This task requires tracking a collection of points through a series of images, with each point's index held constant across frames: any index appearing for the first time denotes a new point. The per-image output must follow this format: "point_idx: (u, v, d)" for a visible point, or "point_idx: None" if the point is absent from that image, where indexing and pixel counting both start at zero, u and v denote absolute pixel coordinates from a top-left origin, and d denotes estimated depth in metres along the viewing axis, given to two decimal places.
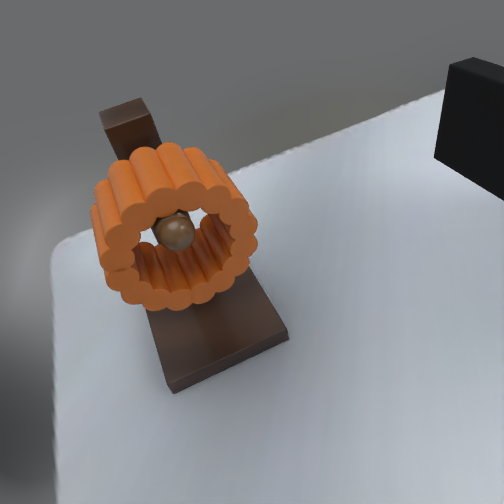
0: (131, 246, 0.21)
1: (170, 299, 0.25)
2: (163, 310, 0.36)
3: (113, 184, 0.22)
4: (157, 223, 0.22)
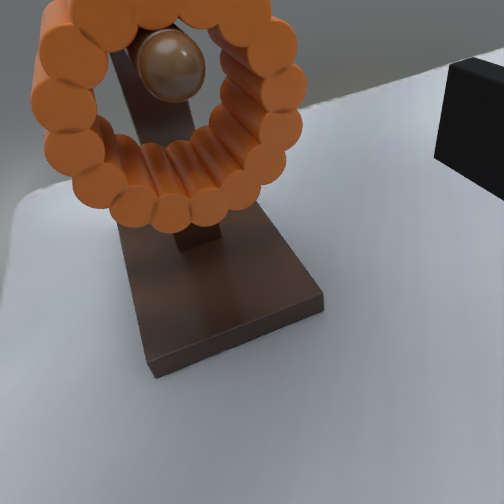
0: (90, 82, 0.12)
1: (156, 209, 0.15)
2: (150, 267, 0.26)
3: None
4: (139, 45, 0.12)
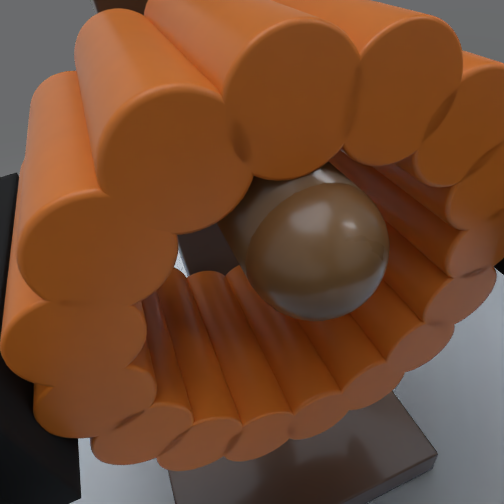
0: (137, 293, 0.05)
1: (237, 439, 0.09)
2: None
3: (84, 60, 0.06)
4: (244, 205, 0.05)
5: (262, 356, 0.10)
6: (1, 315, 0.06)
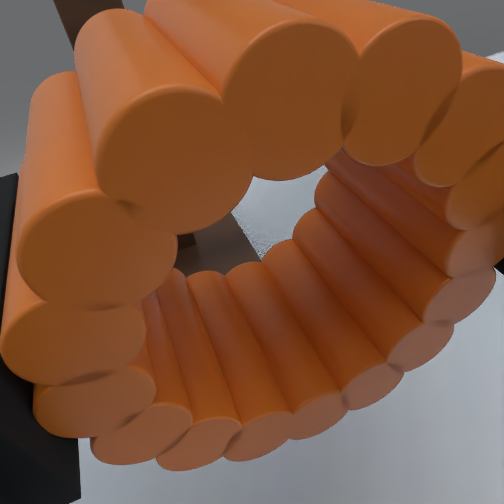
0: (136, 293, 0.05)
1: (237, 439, 0.09)
2: None
3: (84, 60, 0.06)
4: None
5: (262, 356, 0.10)
6: (1, 315, 0.06)
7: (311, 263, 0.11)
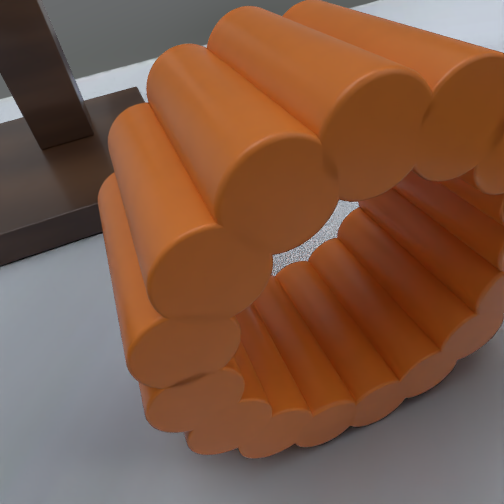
0: (284, 244, 0.06)
1: (260, 430, 0.09)
2: (3, 164, 0.22)
3: (255, 37, 0.07)
4: None
5: (282, 358, 0.10)
6: None
7: (327, 285, 0.12)
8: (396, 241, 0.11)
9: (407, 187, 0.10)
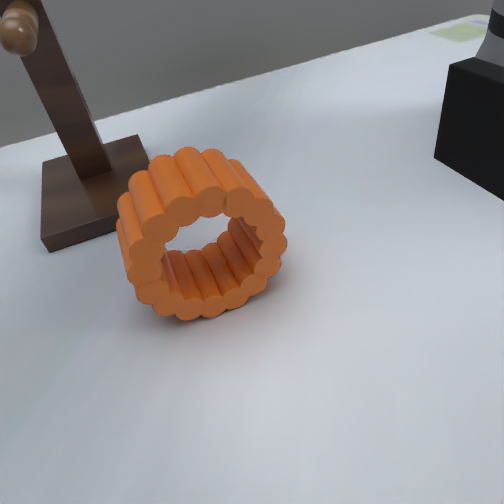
0: (165, 240, 0.21)
1: (182, 306, 0.24)
2: (58, 189, 0.37)
3: (157, 175, 0.22)
4: None
5: (195, 283, 0.25)
6: None
7: (222, 253, 0.27)
8: (244, 230, 0.26)
9: None
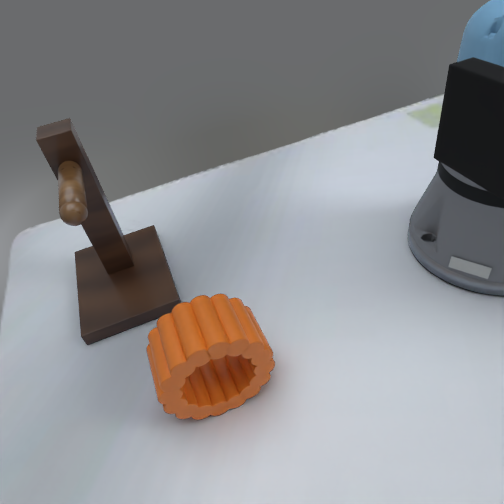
0: (186, 376, 0.29)
1: (196, 411, 0.32)
2: (90, 284, 0.45)
3: (179, 324, 0.30)
4: (60, 205, 0.31)
5: (206, 389, 0.33)
6: None
7: (226, 360, 0.35)
8: None
9: None
